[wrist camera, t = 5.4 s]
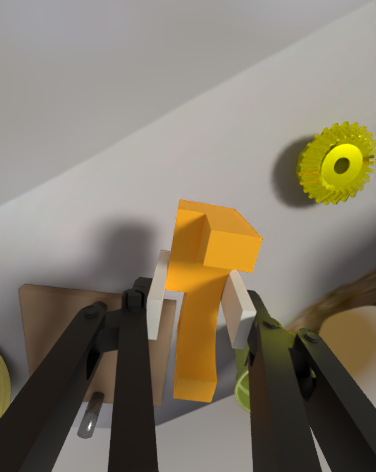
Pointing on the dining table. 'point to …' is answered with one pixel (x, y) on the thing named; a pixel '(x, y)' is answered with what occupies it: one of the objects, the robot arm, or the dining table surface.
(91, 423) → the locating stubs
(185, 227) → the pipe clamp
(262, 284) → the dining table surface
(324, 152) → the gear
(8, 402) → the plastic component
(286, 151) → the dining table surface
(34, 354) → the base plate
